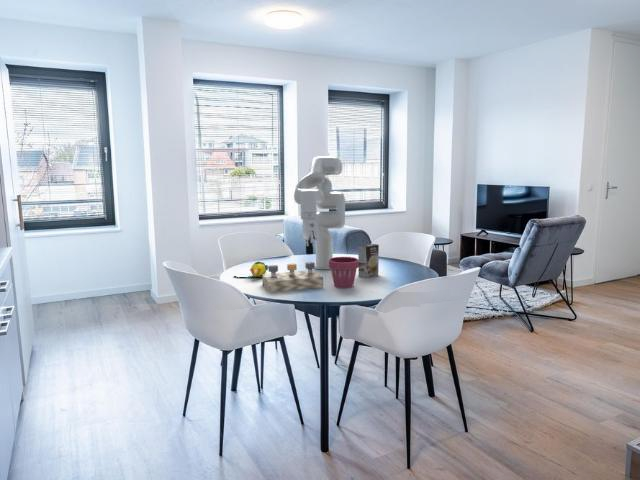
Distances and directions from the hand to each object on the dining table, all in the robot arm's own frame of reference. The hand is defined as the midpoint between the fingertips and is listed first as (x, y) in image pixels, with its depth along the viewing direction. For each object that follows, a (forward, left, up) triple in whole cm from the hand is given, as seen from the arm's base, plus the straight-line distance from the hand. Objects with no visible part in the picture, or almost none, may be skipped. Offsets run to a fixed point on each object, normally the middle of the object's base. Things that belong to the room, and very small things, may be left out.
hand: (309, 253), depth 229 cm
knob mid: (+9, 0, -10) cm, 14 cm away
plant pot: (-14, +9, -15) cm, 23 cm away
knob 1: (+18, 0, -10) cm, 21 cm away
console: (+9, 0, -15) cm, 17 cm away
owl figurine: (+20, -26, -16) cm, 37 cm away
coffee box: (-33, -6, -15) cm, 37 cm away
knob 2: (0, 0, -10) cm, 10 cm away
